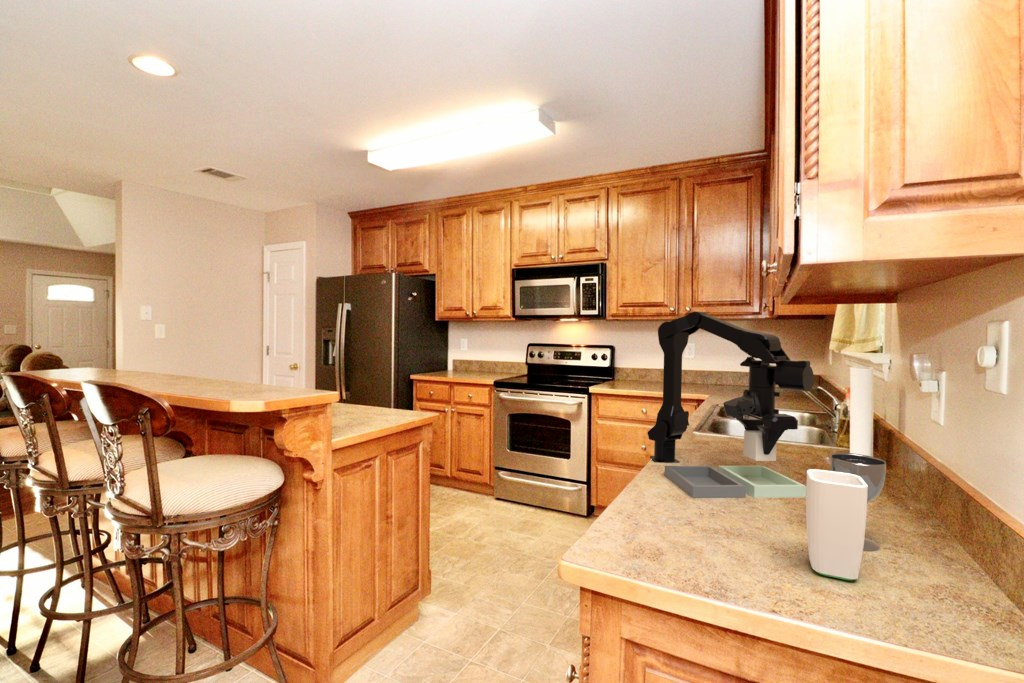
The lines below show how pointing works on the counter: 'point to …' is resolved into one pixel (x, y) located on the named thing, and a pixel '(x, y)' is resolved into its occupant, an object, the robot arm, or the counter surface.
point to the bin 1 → (705, 482)
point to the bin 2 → (764, 482)
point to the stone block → (757, 447)
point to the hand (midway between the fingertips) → (759, 451)
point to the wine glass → (868, 470)
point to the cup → (835, 522)
